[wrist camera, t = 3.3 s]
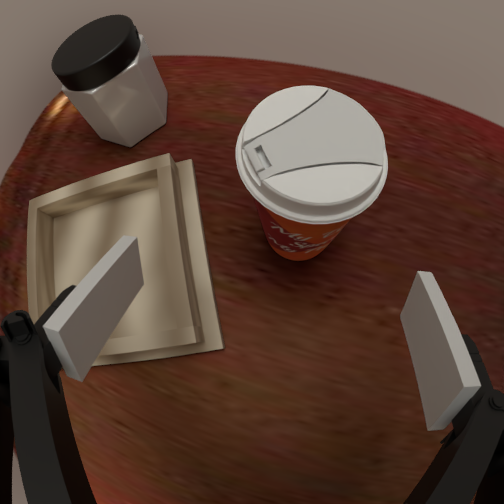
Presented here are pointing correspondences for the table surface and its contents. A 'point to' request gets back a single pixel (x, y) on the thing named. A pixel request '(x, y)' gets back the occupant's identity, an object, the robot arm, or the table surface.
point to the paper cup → (310, 166)
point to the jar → (112, 80)
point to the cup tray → (150, 248)
